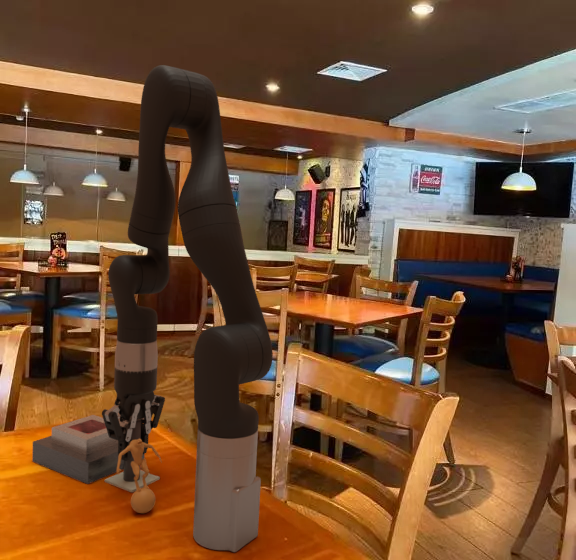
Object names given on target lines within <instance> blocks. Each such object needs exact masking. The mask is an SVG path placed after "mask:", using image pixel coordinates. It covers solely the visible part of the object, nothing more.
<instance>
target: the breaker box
mask: <svg viewBox="0 0 576 560" xmlns="http://www.w3.org/2000/svg"><path fill="white" fill-rule="evenodd" d="M86 433H90V434H86ZM145 454H146V453H145ZM145 454H143V455H142V460H143V458H145ZM31 461H32V463H35V464H37V465H40V466H42V467H45V468H48V469H50V470H52V471H55V472H57V473H59V474H61V475H65V476H67V477H68V478H71V479H75V480H77V481H79V482H82V483H83V484H87V485H90V484H92V483H94V482H97V481H99V480H101V479H104V478H106V477H108V476H111V475H113V474H116V473H118V472H117V464H118V440H115V439H112V438H110V437H109V435H108V432H107V429H106V426H105V423H104V420H103V416H99V415H95V414H91V415H89V416H85V417H82V418H78V419H75V420H72V421H69V422H65V423H63V424H62V423H61V424H58V425H55V426H53V427H51V435H50V436H46V437H43V438H39V439H37V440H34V441H32V460H31ZM123 467H124V460H122V459H121V464H120V467H119V469H121V471H122V470H123ZM119 471H120V470H119ZM121 471H120V472H121Z"/></svg>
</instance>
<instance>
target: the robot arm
mask: <svg viewBox="0 0 576 560" xmlns="http://www.w3.org/2000/svg"><path fill="white" fill-rule="evenodd" d="M141 94H142V95H141V101H140V113H139V114H140V115H139V129H138V130H139V133H138V156H137V175H136V186H135V194H134V198H133V202H132V206H131V207H132V208H131V213H130V218H129V222H128V228H127V237H128V239H129V240H130V242H131V243H133V244H134V245H137V246H139V247H142V248H145V249H147V252H146V254H143V255H142V254H121V255H120V254H119V255H118V256H116V257H115V258H114V259H113V260H112V261H111V262H110V265H109V267H108V268H109V269H108V271H107V274H108V282H109V287H110V290H111V291H110V292H111V294H112V298H113V302H114V303H113V304H114V306H115V312H116V317H117V318H116V319H117V325H116V327H117V329H116V330H117V331H116V333H117V334H116V346H115V351H114V377H113V379H114V381H113V388H114V390H115V393H116V398H115V400H114V403H113V404H114V405H113V406H112V407H111V408H109V409H106V408H104V409H103V410H102V411H101V417H102V418H103V420H104V423H105V426H106V429H107V432H108V435H109V437H110V438H112V439H115V440H118V456H119V454H120V453H121V452H122V451H123V450H124V449H126V447H127V446H129V444H130V442H131V441H130V439H131V435H132V430H133V428H135V425H136V420H137V419H141V440H142V442H144V443H146V444H149V435H150V433H151V431H152V430H153V429H157V427H158V425H159V422H160V418H161V414H162V412H163V408H164V405H165V402H166V398H165V396H162V395H157V394H155V391H156V390H157V385H158V384H157V382H158V381H157V380H158V379H157V378H158V362H159V361H158V359H159V358H158V356H159V355H158V354H159V353H158V318H159V317H158V313H157V311H156V310H155V309H154V308H152V307H149V306H142V305H138V303H137V300H136V298H135V297H136V296H135V295H148V294H149V295H152V294H153V295H154V294H159V293H161V292H162V291H163V290H164V289H165V288H166V287H167V285H168V283H169V280H170V274H171V270H170V269H171V268H170V258H169V257H170V256H169V254H170V253H169V250H170V249H169V236H170V232H171V228H172V225H173V224H172V223H173V219H174V215H175V209H176V192H175V187H174V184H173V180H172V178H171V177H172V176H171V174H170V171H169V168H168V167H169V166H168V163H167V157H166V140H167V136H168V133H169V129H170V128H174V129H179V130H180V129H181V130H184V131H186V134H187V137H188V141H189V146H190V148H189V149H190V155H191V156H190V157H191V161H190V167H189V170H188V173H187V176H186V178H185V180H184V182H183V186H182V188H181V190H180V193H179V197H178V202H177V215H178V221H179V226H180V231H181V236H182V240H183V245H184V248H185V250H186V252H187V254H188V256H189V258H190V259H191V260H192V262H193V263H194V264H195V267H196V268H197V269H198V270H199V271H200V273H201V274H202V276H203V277H204V278H205V279H206V281H207V282H208V283H209V284H210V286H211V288H212V289H213V290H214V292H215V294H216V296H217V299H218V301H219V303H220V307H221V310H222V314H223V317H224V321H225V322H224V323H225V324H224V325H216V326H211V327H208V328H205V329H204V330H203V331H202V332H201V333H200V335H199V336H198V338H197V340H196V342H195V345H194V346H195V347H194V351H193V387H194V388H193V400H194V401H193V402H194V409H195V412H196V416H197V436H196V437H197V438H196V439H197V440H196V459H195V460H196V461H195V464H196V465H195V482H194V483H195V484H194V485H195V486H194V503H193V504H194V507H193V508H194V509H193V510H194V511H193V512H194V514H193V531H192V532H193V533H192V535H193V538H194V541H195V542H196V543H197V544H199V545H200V546H202V547H204V548H207V549H210V550H215V551H230V552H232V553H236V552H238V551H239V550H240V549H242V548H244V546H246V545H247V544H249V543H250V542H252V541H253V540H254V539H255V538H257V537H258V535H259V519H260V518H259V517H260V503H261V502H260V499H261V497H260V496H261V485H262V484H261V482H262V481H261V480H262V479H261V477H260V476H258V475H257V476H256V474H257V471H256V470H257V457H258V456H257V452H258V437H259V421H260V420H259V419H260V418H259V417H260V416H259V413H258V410H257V409H256V408H255V407H254V406H252V405H250V404H247V403H243V402H241V401H240V385H244V384H247V383H251V382H256V381H259V380H261V379H263V378H265V377H266V376H267V375H268V373H269V371H270V369H271V367H272V364H273V353H274V352H273V345H272V344H273V343H272V340H271V336H270V332H269V330H268V326H267V322H266V321H265V317H264V314H263V311H262V308H261V305H260V302H259V299H258V296H257V293H256V290H255V285H254V282H253V278H252V273H251V269H250V266H249V263H248V262H249V261H248V256H247V253H246V250H245V245H244V239H243V234H242V229H241V223H240V218H239V214H238V210H237V205H236V201H235V198H234V197H235V196H234V193H233V190H232V184H231V180H230V174H229V170H228V164H227V158H226V154H225V153H226V152H225V146H224V139H223V138H224V137H223V128H222V120H221V119H222V118H221V111H220V103H219V98H218V93H217V90H216V87H215V85H214V83H213V82H212V80H210V78H209V77H207V76H206V75H204V74H201V73H199V72H195V71H191V70H187V69H182V68H179V67H175V66H169V65H165V64H163V65H162V64H161V65H157V66H155V67H153V68H152V69H151V70H150V71H149V73H148V75H147V76H146V79H145V81H144V84H143V88H142V93H141ZM125 420H127V421H129V423H128V422H126V421H125ZM125 428H126V431H125V433H124V429H125ZM148 449H149V448H146V447H144V452H143V454H147V452H148ZM130 458H131V451H128V452H127V453H125V454H124V455H122V458H121V459H122V460H124V461H128V460H130Z"/></svg>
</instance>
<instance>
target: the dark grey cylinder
mask: <svg viewBox="0 0 576 560" xmlns="http://www.w3.org/2000/svg"><path fill="white" fill-rule="evenodd" d="M125 421H126V422H128V423H129V421H127V420H125ZM125 431H126V428H125V429H124V433H125ZM137 439H141V419H137V420H136V425H135V428H133V430H132V435H131V439H130V441H132V440H137ZM132 461H134V458H133V456H132V453H131V458H130V460H128V461H124V467H123V469H122V470H123V471H122V472H123V479H124V480H125V481H127V482H134V481H135V480H134V477H135V476H136V475H135V474H134V472H133V469H132V467H131V462H132ZM139 467H140V468H141V465H140V466H139ZM139 479H140V471H139V478H138V480H139Z"/></svg>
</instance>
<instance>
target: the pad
mask: <svg viewBox="0 0 576 560" xmlns="http://www.w3.org/2000/svg"><path fill="white" fill-rule="evenodd" d="M118 474H119V473H116V474H115V475H112V476H110V477H108V478H106V479H104V483H106V484H109V485H112V486H114V487H117V488H119V489H122V490H124V491H127V492H130V493H134V492H135V491H136V490H137V489H136V485H135V481H134V482H127V481H125V480H124V479H123V471H122V472H121V471H120V474H119V475H118ZM143 474H145V472H144V471H143V470H142V469H140V479H139V480H137V482H138V485H139V487H140V488H143V487H144V485H143V481H142V478H143V477H142V476H143ZM160 478H161V477H160V476H159V475H155V474H153V473H150V472H149V474H148V475H147V477H146V478H145V481H146V484H147V486H148V485H151V484H152V483H155V482H156V481H159V480H160Z"/></svg>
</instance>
